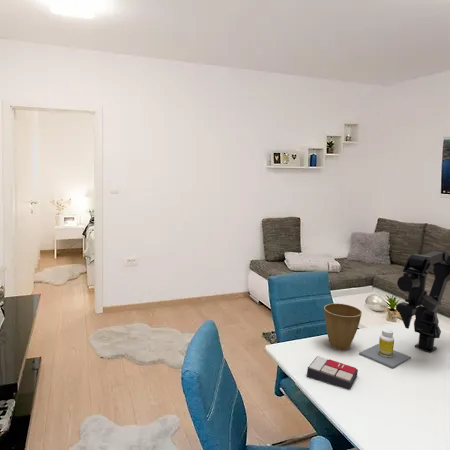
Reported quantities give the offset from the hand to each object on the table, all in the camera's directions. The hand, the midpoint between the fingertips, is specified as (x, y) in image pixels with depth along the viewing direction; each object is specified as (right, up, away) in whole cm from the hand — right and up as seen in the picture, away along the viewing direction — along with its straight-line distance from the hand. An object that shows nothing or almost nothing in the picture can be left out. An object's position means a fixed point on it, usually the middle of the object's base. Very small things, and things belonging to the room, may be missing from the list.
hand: (412, 325), depth 153 cm
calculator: (-36, -15, -15) cm, 42 cm away
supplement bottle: (-10, -12, +1) cm, 16 cm away
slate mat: (-10, -13, +1) cm, 16 cm away
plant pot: (-26, -11, +9) cm, 30 cm away
